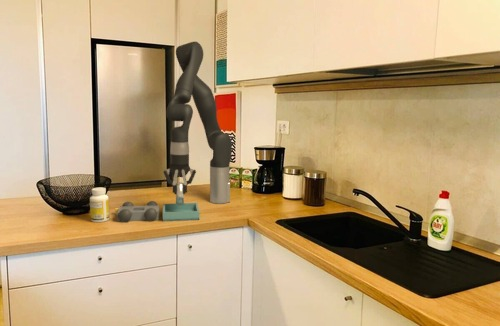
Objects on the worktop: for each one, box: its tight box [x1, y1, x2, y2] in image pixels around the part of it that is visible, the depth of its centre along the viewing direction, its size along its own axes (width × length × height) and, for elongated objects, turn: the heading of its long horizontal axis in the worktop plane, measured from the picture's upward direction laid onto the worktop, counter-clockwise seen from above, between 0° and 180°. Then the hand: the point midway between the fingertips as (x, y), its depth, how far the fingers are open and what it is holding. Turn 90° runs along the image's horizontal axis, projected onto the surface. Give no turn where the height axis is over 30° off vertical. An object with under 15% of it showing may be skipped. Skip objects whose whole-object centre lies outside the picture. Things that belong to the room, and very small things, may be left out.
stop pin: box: [175, 182, 185, 205], centre depth 172 cm, size 3×3×9 cm
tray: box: [162, 202, 200, 222], centre depth 173 cm, size 15×15×4 cm
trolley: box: [114, 200, 160, 223], centre depth 169 cm, size 18×14×5 cm
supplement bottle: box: [89, 186, 110, 223], centre depth 164 cm, size 7×7×13 cm
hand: (179, 193), depth 172 cm, fingers closed on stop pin, 3 cm apart
